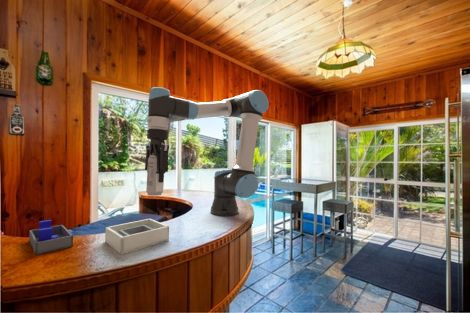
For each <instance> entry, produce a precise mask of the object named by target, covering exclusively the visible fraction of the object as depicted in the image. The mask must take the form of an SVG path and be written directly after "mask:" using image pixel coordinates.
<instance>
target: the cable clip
mask: <svg viewBox="0 0 470 313" xmlns="http://www.w3.org/2000/svg"><path fill="white" fill-rule="evenodd" d="M38 226H39V228H38V229H39V242H41V241H46V240H51V239H56V238H58V235H53V236H52V219H48V220H46V219H45V220H41V221H40V220H39V225H38Z"/></svg>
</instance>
